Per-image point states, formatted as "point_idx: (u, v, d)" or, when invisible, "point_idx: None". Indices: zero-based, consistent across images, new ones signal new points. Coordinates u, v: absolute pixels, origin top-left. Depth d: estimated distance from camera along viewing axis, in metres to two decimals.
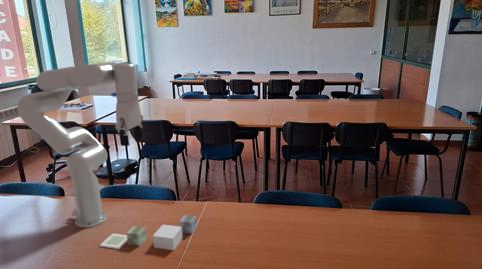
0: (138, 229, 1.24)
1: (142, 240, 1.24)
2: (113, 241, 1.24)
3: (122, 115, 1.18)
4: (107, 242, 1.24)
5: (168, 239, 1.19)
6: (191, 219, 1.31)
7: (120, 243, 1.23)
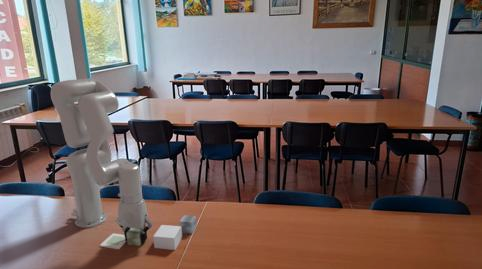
0: (138, 229, 1.24)
1: None
2: (113, 241, 1.24)
3: (145, 212, 1.21)
4: (107, 242, 1.24)
5: (169, 239, 1.19)
6: (191, 219, 1.31)
7: (120, 243, 1.23)
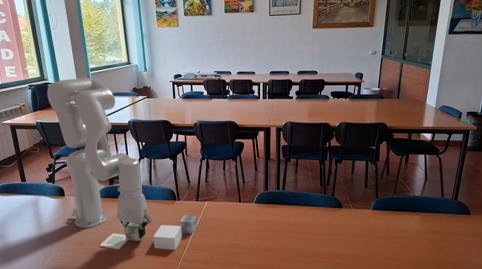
0: (136, 224, 1.24)
1: None
2: (113, 241, 1.24)
3: (145, 207, 1.21)
4: (107, 242, 1.24)
5: (169, 239, 1.19)
6: (191, 219, 1.31)
7: (120, 243, 1.23)
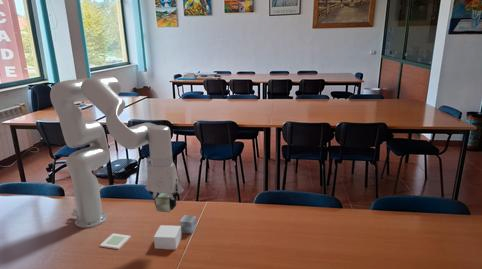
0: (167, 195, 1.20)
1: None
2: (113, 241, 1.24)
3: (176, 176, 1.16)
4: (107, 242, 1.24)
5: (170, 239, 1.19)
6: (191, 219, 1.31)
7: (120, 243, 1.23)
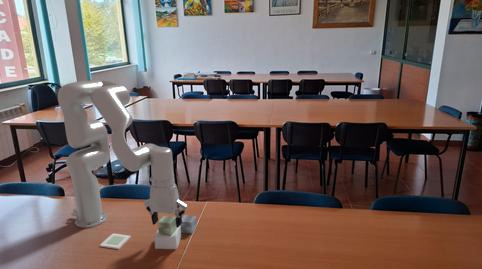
0: (169, 218, 1.22)
1: (173, 230, 1.22)
2: (113, 241, 1.24)
3: (177, 196, 1.18)
4: (107, 242, 1.24)
5: (171, 238, 1.19)
6: (191, 219, 1.31)
7: (120, 243, 1.23)
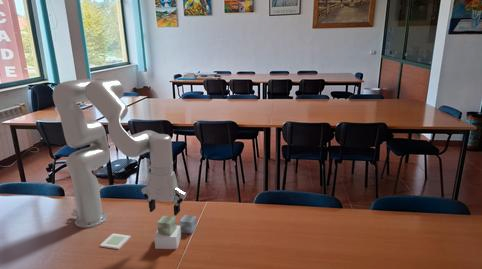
0: (168, 218, 1.22)
1: (172, 230, 1.22)
2: (113, 241, 1.24)
3: (176, 184, 1.17)
4: (107, 242, 1.24)
5: (171, 238, 1.19)
6: (191, 219, 1.31)
7: (120, 243, 1.23)
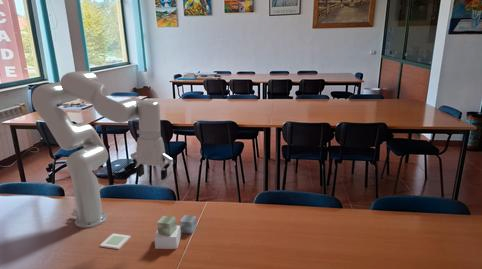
0: (168, 218, 1.22)
1: (172, 230, 1.21)
2: (113, 241, 1.24)
3: (163, 150, 1.22)
4: (107, 242, 1.24)
5: (171, 238, 1.19)
6: (191, 219, 1.31)
7: (120, 243, 1.23)
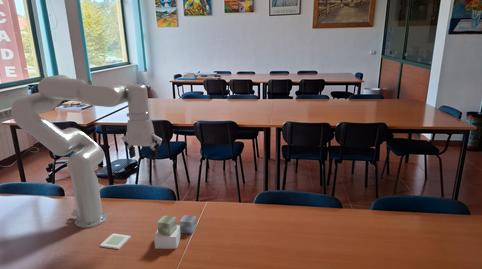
0: (169, 218, 1.22)
1: (172, 230, 1.22)
2: (113, 241, 1.24)
3: (152, 131, 1.29)
4: (107, 242, 1.24)
5: (171, 238, 1.20)
6: (191, 219, 1.31)
7: (120, 243, 1.23)
